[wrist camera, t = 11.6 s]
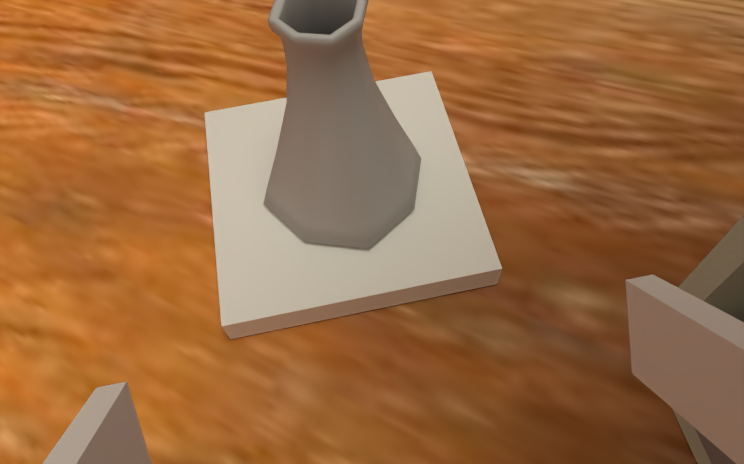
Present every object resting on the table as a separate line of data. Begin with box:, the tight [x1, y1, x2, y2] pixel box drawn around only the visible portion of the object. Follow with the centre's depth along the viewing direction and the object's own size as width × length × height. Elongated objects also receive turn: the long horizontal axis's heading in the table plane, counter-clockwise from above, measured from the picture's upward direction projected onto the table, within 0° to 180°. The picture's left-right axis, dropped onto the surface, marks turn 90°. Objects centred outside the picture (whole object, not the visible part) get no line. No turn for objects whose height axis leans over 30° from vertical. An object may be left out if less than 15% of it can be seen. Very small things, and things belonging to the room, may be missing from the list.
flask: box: [263, 0, 421, 249], centre depth 24 cm, size 7×7×10 cm
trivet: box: [205, 71, 502, 339], centre depth 29 cm, size 12×12×2 cm
